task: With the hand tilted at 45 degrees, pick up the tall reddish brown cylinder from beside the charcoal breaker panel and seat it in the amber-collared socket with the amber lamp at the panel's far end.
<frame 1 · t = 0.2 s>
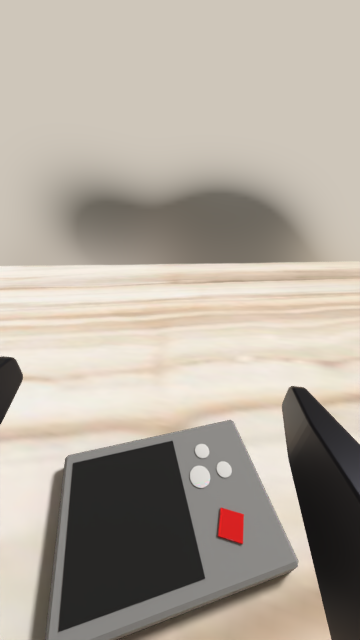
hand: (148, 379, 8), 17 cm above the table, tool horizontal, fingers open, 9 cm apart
electronic device: (167, 514, 20), on the table
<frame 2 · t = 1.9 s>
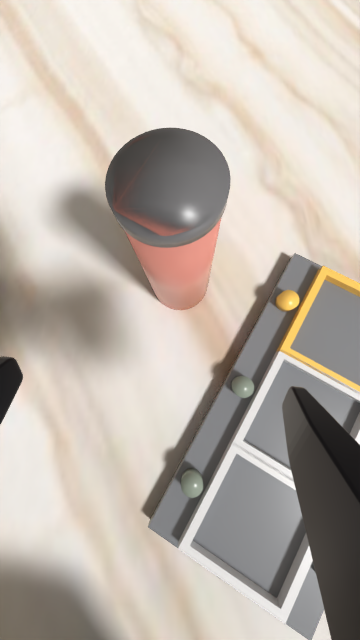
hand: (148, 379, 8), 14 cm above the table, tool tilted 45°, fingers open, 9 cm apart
breaker panel: (296, 418, 21), on the table
reddish brown cylinder: (180, 283, 23), on the table
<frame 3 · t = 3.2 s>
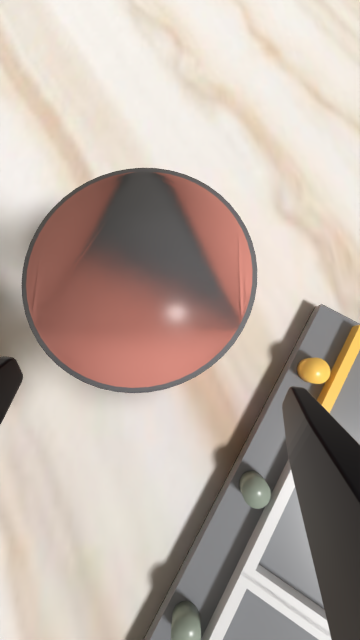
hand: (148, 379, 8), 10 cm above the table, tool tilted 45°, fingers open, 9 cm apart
breaker panel: (324, 527, 16), on the table
reddish brown cylinder: (174, 338, 18), on the table
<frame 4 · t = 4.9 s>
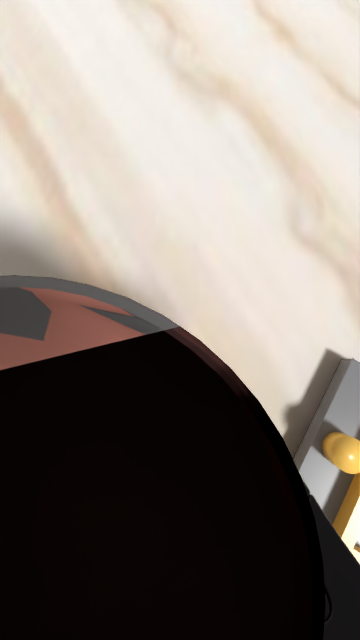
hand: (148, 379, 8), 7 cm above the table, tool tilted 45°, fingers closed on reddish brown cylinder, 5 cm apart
reddish brown cylinder: (164, 398, 14), on the table, touching gripper
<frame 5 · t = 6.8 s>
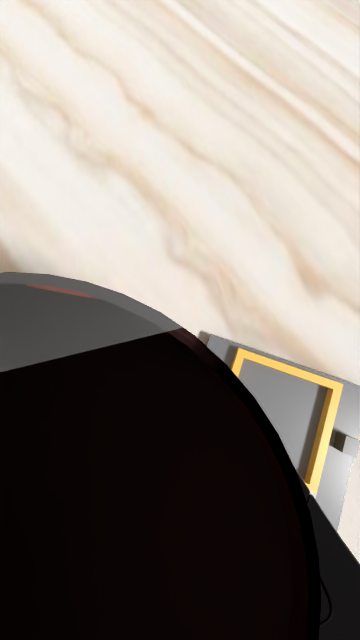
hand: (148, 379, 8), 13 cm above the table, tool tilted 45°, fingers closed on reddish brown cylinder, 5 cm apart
breaker panel: (238, 515, 19), on the table
reddish brown cylinder: (164, 397, 14), point 7 cm above the table, touching gripper
when the fingers open (9 cm above the table, at t = 8.8 s): reddish brown cylinder drops 1 cm, resting on breaker panel.
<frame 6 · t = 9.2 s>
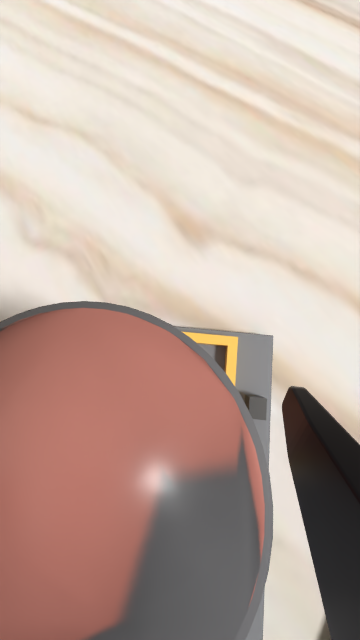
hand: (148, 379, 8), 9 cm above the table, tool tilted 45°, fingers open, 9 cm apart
breaker panel: (154, 526, 16), on the table
reddish brown cylinder: (166, 395, 16), point 1 cm above the table, touching breaker panel
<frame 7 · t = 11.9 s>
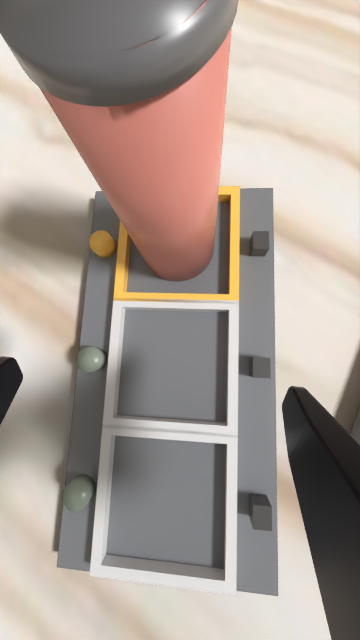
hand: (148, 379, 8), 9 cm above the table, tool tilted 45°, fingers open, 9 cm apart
breaker panel: (174, 362, 17), on the table
reddish brown cylinder: (178, 247, 18), point 1 cm above the table, touching breaker panel
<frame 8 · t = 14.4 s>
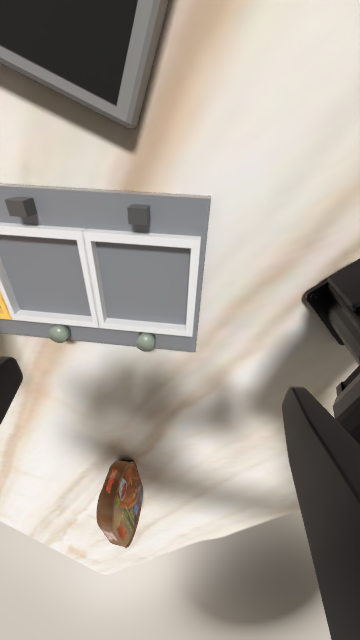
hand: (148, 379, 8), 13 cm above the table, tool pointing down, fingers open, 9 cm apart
tin: (130, 472, 41), on the table
breaker panel: (53, 272, 21), on the table
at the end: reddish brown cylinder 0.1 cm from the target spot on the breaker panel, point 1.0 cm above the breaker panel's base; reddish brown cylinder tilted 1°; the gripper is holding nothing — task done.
